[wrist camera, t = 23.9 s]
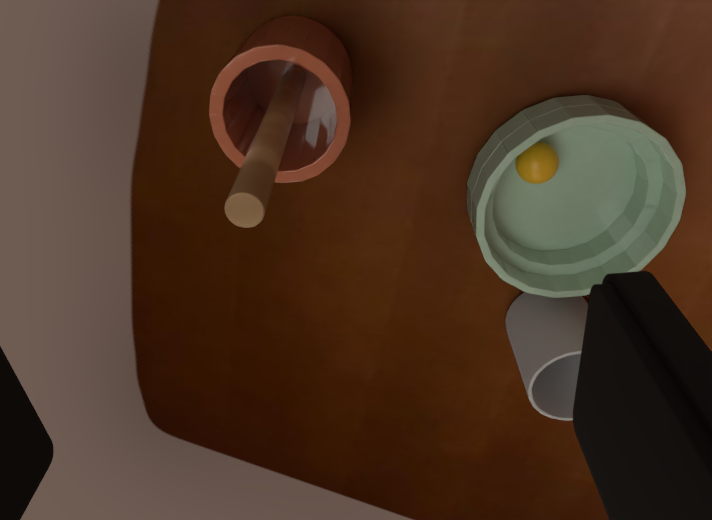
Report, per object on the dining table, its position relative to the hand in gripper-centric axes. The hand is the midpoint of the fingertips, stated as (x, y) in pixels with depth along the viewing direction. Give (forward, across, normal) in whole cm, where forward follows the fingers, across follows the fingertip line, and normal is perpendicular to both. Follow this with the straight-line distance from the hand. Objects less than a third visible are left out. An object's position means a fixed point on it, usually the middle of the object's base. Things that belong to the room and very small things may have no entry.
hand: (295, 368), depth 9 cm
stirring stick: (+34, +4, +4) cm, 34 cm away
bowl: (+34, -15, +14) cm, 40 cm away
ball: (+32, -13, +11) cm, 36 cm away
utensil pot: (+34, +4, +4) cm, 35 cm away
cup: (+34, -15, +28) cm, 47 cm away
